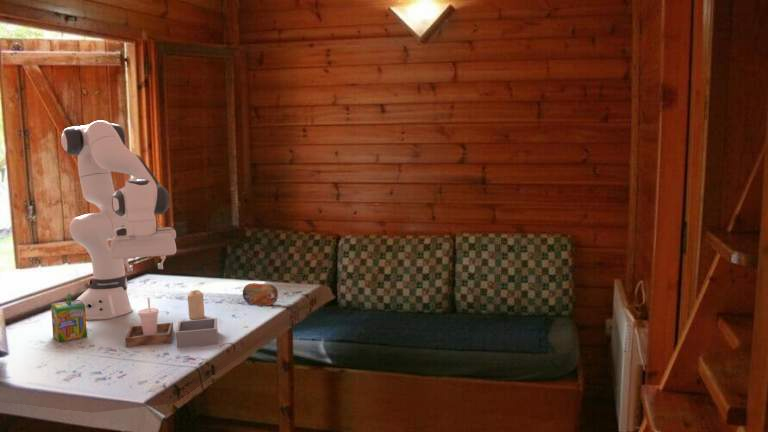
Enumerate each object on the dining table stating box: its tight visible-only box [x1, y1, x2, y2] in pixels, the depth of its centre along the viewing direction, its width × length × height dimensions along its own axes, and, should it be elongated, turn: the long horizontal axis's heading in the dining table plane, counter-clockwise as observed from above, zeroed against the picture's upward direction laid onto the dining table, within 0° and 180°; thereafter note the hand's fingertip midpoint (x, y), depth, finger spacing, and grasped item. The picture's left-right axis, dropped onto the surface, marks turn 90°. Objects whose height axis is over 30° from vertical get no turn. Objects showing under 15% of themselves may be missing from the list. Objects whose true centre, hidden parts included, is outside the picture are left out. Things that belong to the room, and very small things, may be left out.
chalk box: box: [50, 293, 88, 343], centre depth 222 cm, size 9×9×15 cm
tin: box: [242, 282, 279, 307], centre depth 259 cm, size 15×3×8 cm, turn 68°
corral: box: [124, 322, 174, 348], centre depth 219 cm, size 14×14×3 cm
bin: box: [175, 317, 219, 349], centre depth 216 cm, size 13×13×5 cm
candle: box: [187, 289, 205, 320], centre depth 243 cm, size 6×6×10 cm
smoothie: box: [137, 297, 160, 336], centre depth 218 cm, size 6×6×14 cm
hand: (145, 270), depth 216 cm, fingers open, 8 cm apart
